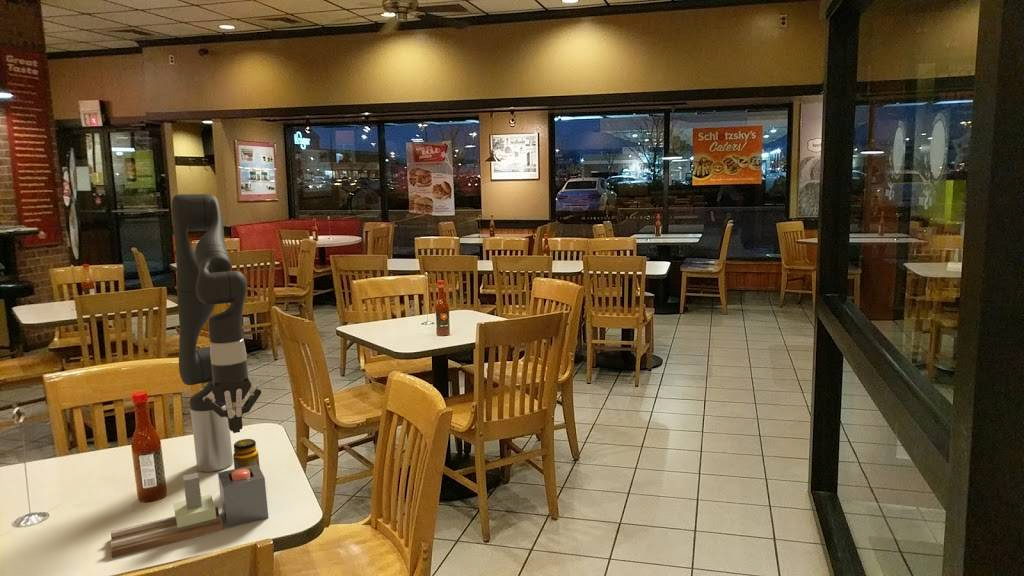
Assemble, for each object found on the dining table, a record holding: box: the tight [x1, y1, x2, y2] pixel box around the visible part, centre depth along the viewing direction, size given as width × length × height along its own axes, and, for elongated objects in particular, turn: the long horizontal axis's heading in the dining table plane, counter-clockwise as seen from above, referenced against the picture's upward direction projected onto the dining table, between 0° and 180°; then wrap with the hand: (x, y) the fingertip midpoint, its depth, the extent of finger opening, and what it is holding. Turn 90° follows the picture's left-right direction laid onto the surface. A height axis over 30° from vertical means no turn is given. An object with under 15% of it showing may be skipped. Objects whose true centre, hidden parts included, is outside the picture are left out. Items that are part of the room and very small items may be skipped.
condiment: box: [232, 438, 266, 487], centre depth 182 cm, size 7×8×12 cm
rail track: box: [110, 505, 224, 559], centre depth 160 cm, size 9×22×2 cm, turn 119°
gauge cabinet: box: [217, 464, 269, 529], centre depth 167 cm, size 9×9×10 cm
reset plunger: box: [232, 469, 250, 481], centre depth 166 cm, size 4×4×6 cm
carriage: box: [173, 472, 216, 528], centre depth 161 cm, size 8×8×10 cm
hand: (236, 431), depth 164 cm, fingers closed
